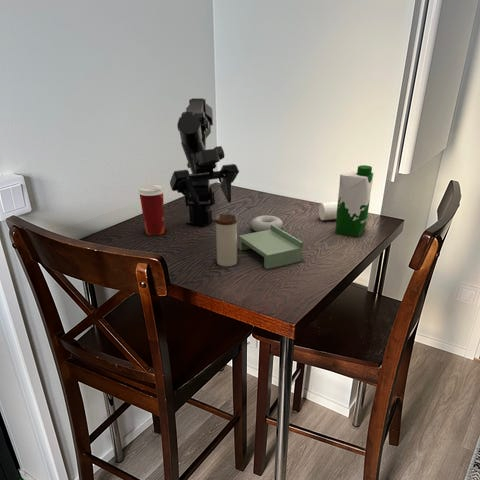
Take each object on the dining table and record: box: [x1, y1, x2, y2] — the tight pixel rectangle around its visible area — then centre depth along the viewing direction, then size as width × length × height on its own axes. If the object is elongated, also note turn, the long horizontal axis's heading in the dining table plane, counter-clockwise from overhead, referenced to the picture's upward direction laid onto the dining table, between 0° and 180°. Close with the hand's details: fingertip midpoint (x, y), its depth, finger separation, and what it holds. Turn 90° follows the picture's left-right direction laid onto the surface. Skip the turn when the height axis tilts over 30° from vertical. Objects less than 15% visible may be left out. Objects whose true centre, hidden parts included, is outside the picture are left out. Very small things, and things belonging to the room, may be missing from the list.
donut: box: [250, 215, 284, 232], centre depth 153 cm, size 10×4×10 cm
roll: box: [318, 201, 338, 221], centre depth 160 cm, size 6×12×6 cm, turn 100°
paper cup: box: [137, 184, 165, 236], centre depth 148 cm, size 8×8×14 cm
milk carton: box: [335, 164, 375, 238], centre depth 146 cm, size 9×9×20 cm
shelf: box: [238, 224, 304, 270], centre depth 135 cm, size 16×11×6 cm
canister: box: [214, 213, 238, 267], centre depth 129 cm, size 6×6×12 cm
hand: (214, 204), depth 131 cm, fingers open, 9 cm apart
